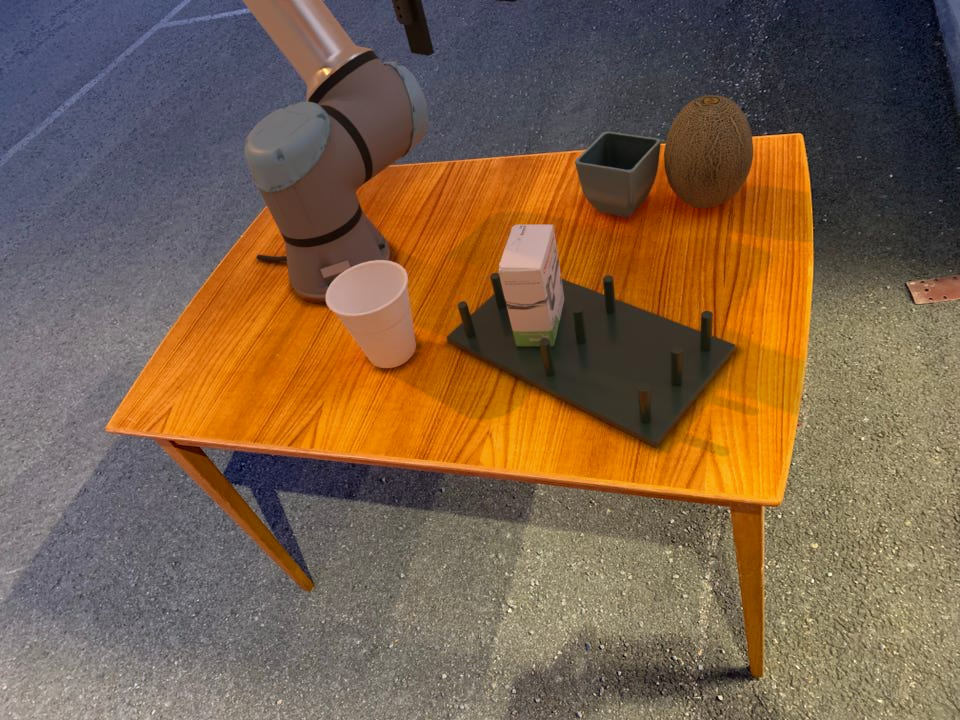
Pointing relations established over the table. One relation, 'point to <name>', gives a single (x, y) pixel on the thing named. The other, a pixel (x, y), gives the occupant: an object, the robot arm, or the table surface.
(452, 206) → the table surface
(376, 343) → the cup
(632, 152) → the flower pot
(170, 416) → the table surface
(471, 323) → the dish rack
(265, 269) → the table surface
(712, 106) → the fruit
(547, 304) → the ink box
